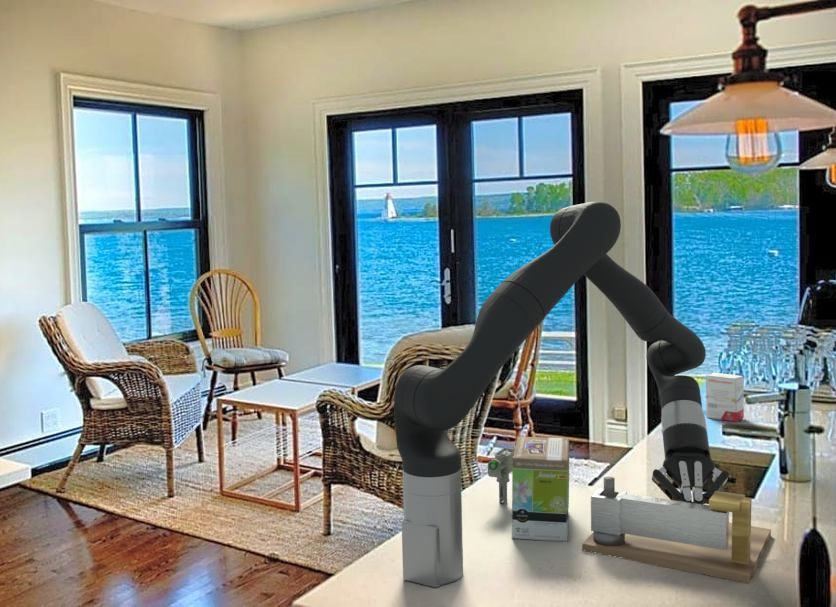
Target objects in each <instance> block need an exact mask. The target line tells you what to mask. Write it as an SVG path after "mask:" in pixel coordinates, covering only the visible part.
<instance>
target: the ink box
mask: <svg viewBox="0 0 836 607" xmlns="http://www.w3.org/2000/svg"><path fill="white" fill-rule="evenodd" d="M744 388H745V387H744V375H738V374H737V375H736V374H729V373H728V374H727V373H722V372H713V373H709V374H706V375H705V400H706V401H705V402H706V404H705V406H706V408H705V409H706V411H705V412H706V416H705V418H707V419H714V420H722V421H727V422H728V421H729V422H734V423H735V422H736V423H737V422H739V421H741V420H743V419H744V418H745V414H744V413H745V412H744V409H745V408H744V405H745V404H744Z"/></svg>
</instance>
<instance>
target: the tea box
mask: <svg viewBox="0 0 836 607" xmlns="http://www.w3.org/2000/svg"><path fill="white" fill-rule="evenodd" d="M514 449H515V451H514V455H513V469H512V472H511V474H512V475H511V476H512V481H511V483H512V484H511V486H512V487H511V491H512V492H511V506H512V507H511V538H512V539H518V540H519V539H520V540H530V541H531V540H533V541H534V540H535V541H551V542H552V541H555V542H567V540H568V534H569V533H568V531H569V530H568V528H569V506H570V501H569V500H570V499H569V498H570V440H569V438H567V437H565V438H564V437H541V436H540V437H539V436H517V438H516V444H515V447H514Z"/></svg>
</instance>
